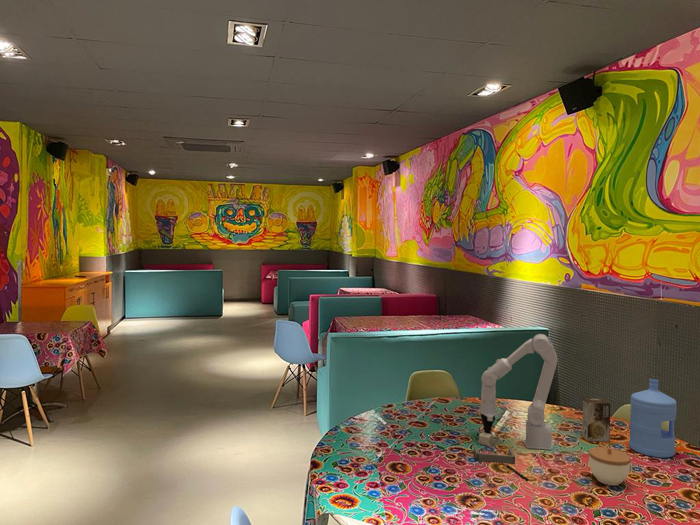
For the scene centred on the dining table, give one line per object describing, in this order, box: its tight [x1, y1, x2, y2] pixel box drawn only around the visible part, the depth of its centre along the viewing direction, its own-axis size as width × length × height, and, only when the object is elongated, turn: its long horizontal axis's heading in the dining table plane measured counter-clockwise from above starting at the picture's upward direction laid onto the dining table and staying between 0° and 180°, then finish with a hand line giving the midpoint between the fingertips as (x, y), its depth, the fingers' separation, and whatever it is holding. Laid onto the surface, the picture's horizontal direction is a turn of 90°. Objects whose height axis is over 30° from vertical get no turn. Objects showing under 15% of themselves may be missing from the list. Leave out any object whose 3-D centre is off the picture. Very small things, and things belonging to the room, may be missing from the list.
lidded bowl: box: [588, 446, 632, 486], centre depth 172 cm, size 13×13×11 cm
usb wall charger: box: [478, 431, 500, 447], centre depth 202 cm, size 4×7×4 cm, turn 51°
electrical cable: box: [505, 464, 529, 482], centre depth 176 cm, size 12×1×1 cm, turn 17°
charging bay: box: [473, 444, 516, 465], centre depth 189 cm, size 14×9×2 cm, turn 82°
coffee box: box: [581, 397, 611, 443], centre depth 211 cm, size 9×6×16 cm
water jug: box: [628, 378, 678, 459], centre depth 199 cm, size 16×16×28 cm
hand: (487, 432), depth 208 cm, fingers closed
